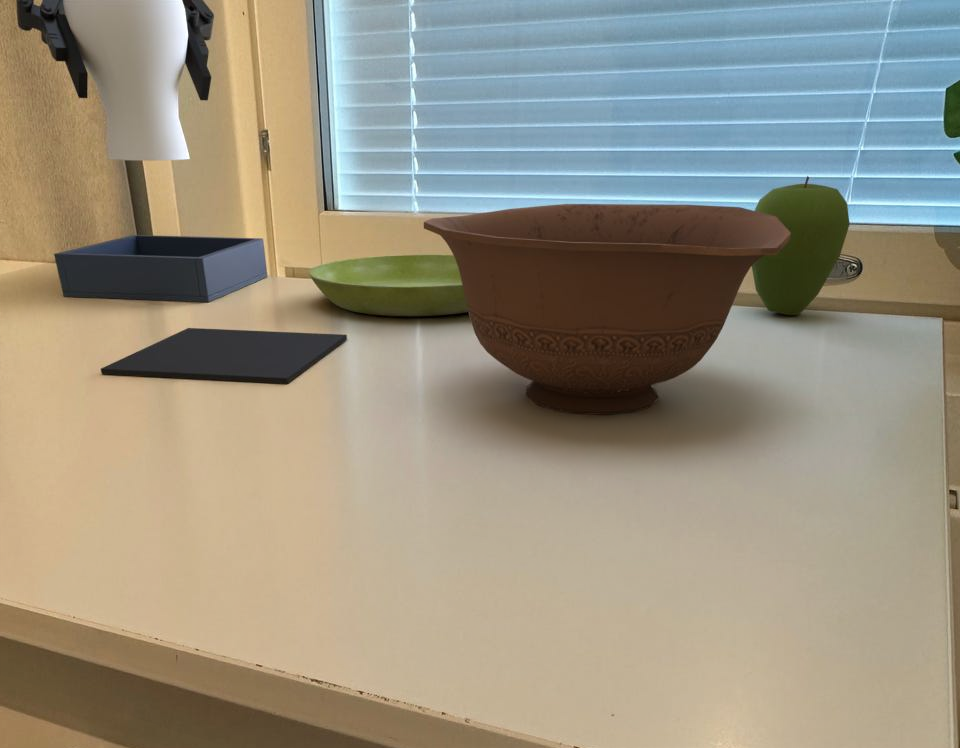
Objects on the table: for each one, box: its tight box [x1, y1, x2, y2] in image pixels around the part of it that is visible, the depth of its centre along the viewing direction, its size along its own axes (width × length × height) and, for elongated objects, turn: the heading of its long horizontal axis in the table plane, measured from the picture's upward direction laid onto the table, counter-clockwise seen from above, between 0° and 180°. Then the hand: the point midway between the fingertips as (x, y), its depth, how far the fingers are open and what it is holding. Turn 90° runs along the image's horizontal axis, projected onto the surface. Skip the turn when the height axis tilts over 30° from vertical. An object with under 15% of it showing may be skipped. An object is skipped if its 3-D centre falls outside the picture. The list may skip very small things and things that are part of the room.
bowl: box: [423, 203, 791, 415], centre depth 56 cm, size 22×22×11 cm
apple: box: [751, 175, 851, 316], centre depth 80 cm, size 9×8×12 cm
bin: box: [53, 234, 269, 303], centre depth 94 cm, size 16×16×4 cm
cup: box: [63, 0, 191, 162], centre depth 84 cm, size 11×11×15 cm
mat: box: [100, 327, 348, 385], centre depth 68 cm, size 14×14×1 cm
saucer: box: [308, 254, 469, 317], centre depth 86 cm, size 21×21×3 cm
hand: (146, 87), depth 83 cm, fingers closed on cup, 11 cm apart
